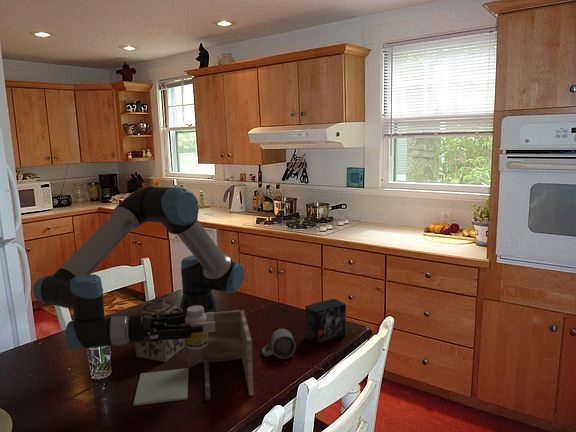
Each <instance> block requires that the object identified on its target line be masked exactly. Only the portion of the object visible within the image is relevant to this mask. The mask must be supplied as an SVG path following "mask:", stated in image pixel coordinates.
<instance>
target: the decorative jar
mask: <svg viewBox="0 0 576 432" xmlns="http://www.w3.org/2000/svg"><path fill="white" fill-rule="evenodd" d="M179 306H180V305H177V304H176V303H175V302H174V301H168V300H165V299H164V298H154V299H152V300H150V302H148V303H146V304H144V305H142V306H141V307H139V309H138V311H137V312H136V314H135V315H143V316H144V319H145V320H148V319H152V318H154V316H153V315H154V314H168V313H176V312H183V310H182V309H181V308H180V307H179ZM181 325H185V324H181ZM134 344H135V352H136V353H135V354H136V357H137V358H139V359H144V360H151V361H157V362H162V363H167V362H168V361H169V360H170V359H172V358H173V357H174V356H176V355H177V354H178V353H179V352H180V351H181V350H183V349H184V348H186V338H185V339H171V340H159V341H154V342H151V341H150V337H145V340H144V342H142V343H134Z"/></svg>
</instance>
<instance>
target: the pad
mask: <svg viewBox="0 0 576 432" xmlns="http://www.w3.org/2000/svg"><path fill="white" fill-rule="evenodd" d="M188 393H189V367H188V368H180V369H178V368H177V369H170V370H169V369H168V370H161V371H150V372H143V373H140V375H139V380H138V383H137V386H136V391H135V395H134V400H133V406H144V405H151V404H160V403H168V402H169V403H170V402H174V401H175V402H176V401H185V400H188V395H189V394H188Z"/></svg>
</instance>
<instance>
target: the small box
mask: <svg viewBox="0 0 576 432" xmlns="http://www.w3.org/2000/svg"><path fill="white" fill-rule="evenodd" d="M346 309H347V304H346V303H344V302H342V301H340V300H338V299H336V298H332V299H327V300H323V301H319V302H315V303H311V304H307V305H305V319H304V320H305V324H304V325H305V326H304V327H305V329H304V333H305V334H304V338H305V339H307V340H308V341H310V342H312V343H313V344H315V345H319V344H322V343H325V342H328V341H329V342H330V341H331V340H335V339H339V338H342V337H345V336H346V316H347V315H346V313H347V311H346Z"/></svg>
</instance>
